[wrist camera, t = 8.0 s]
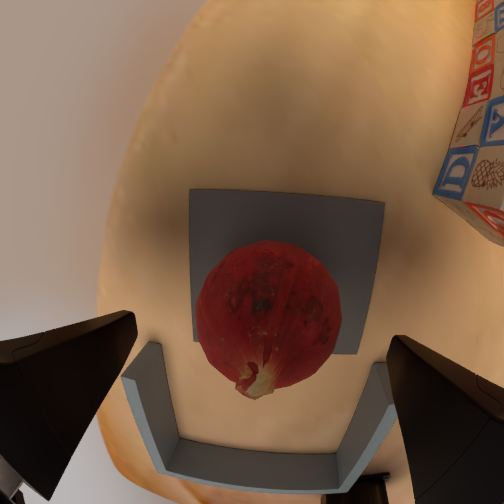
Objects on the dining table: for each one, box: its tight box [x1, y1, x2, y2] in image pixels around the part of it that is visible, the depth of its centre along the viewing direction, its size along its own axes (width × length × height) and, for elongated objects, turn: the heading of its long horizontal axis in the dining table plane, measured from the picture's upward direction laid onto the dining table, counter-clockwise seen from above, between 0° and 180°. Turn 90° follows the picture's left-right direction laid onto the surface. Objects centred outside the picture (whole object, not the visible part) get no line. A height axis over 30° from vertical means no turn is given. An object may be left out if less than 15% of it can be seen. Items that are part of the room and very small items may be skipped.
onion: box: [195, 240, 342, 400], centre depth 11 cm, size 6×6×8 cm
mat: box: [189, 189, 385, 354], centre depth 15 cm, size 10×9×1 cm
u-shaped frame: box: [121, 342, 398, 494], centre depth 16 cm, size 16×12×4 cm
